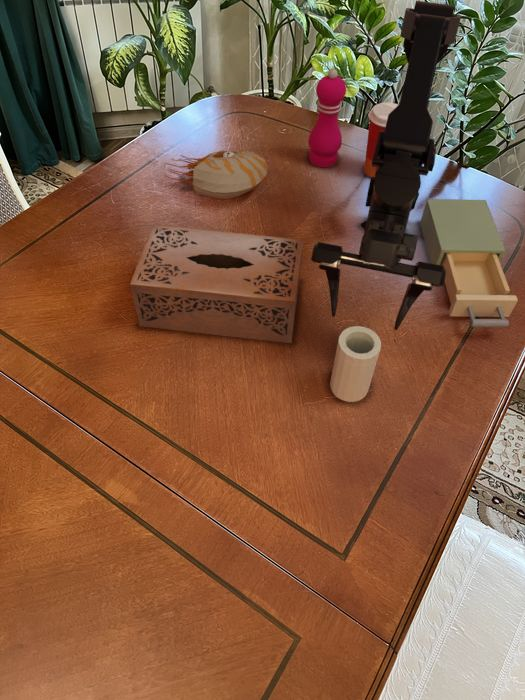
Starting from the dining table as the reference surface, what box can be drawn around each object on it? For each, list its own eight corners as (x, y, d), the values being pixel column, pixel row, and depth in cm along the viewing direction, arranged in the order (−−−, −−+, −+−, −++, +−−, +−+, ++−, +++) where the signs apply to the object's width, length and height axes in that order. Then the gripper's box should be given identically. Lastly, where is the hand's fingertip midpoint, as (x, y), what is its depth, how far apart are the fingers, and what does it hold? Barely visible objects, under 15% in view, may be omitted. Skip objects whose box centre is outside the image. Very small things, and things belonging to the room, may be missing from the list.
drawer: (515, 336, 96) (525, 319, 92) (455, 335, 96) (462, 318, 92) (489, 262, 107) (497, 245, 103) (435, 262, 106) (441, 245, 103)
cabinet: (494, 274, 106) (505, 250, 101) (433, 273, 106) (441, 249, 101) (476, 223, 115) (485, 199, 110) (419, 223, 115) (427, 198, 110)
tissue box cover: (299, 281, 104) (303, 239, 96) (291, 343, 95) (295, 302, 87) (160, 267, 105) (152, 224, 98) (139, 326, 97) (129, 284, 89)
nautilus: (155, 199, 118) (183, 162, 128) (254, 215, 114) (275, 175, 123) (148, 164, 112) (178, 128, 122) (252, 180, 108) (275, 141, 117)
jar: (322, 381, 90) (330, 337, 82) (351, 364, 92) (361, 319, 84) (346, 408, 87) (357, 365, 79) (376, 390, 89) (389, 346, 81)
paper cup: (397, 165, 127) (411, 105, 115) (390, 185, 122) (404, 124, 111) (363, 158, 128) (373, 97, 117) (355, 177, 123) (365, 116, 112)
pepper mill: (337, 170, 125) (349, 80, 109) (304, 166, 126) (312, 76, 110) (341, 152, 129) (353, 62, 113) (309, 148, 130) (317, 58, 114)
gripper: (320, 195, 75) (295, 311, 77) (464, 221, 73) (435, 341, 75) (325, 207, 86) (304, 309, 88) (451, 230, 83) (425, 335, 85)
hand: (364, 323), depth 84 cm, fingers open, 9 cm apart
